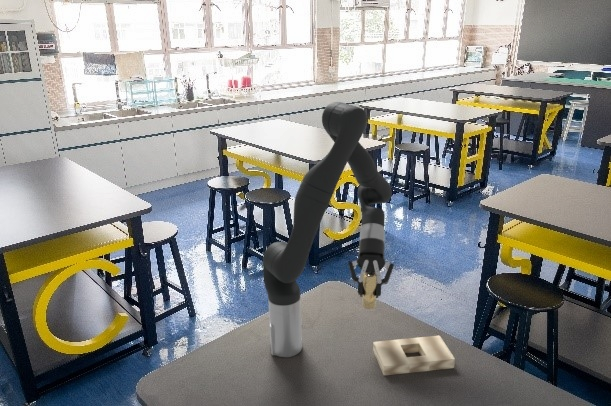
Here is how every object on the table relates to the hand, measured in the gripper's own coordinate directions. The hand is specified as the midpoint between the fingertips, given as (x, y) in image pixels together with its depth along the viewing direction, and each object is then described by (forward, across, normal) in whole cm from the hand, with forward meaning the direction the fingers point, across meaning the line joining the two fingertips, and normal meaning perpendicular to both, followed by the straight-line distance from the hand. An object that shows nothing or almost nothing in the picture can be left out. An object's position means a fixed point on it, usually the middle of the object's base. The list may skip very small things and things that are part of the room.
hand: (369, 296), depth 141 cm
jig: (+15, +13, +7) cm, 21 cm away
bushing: (+2, 0, +4) cm, 5 cm away
